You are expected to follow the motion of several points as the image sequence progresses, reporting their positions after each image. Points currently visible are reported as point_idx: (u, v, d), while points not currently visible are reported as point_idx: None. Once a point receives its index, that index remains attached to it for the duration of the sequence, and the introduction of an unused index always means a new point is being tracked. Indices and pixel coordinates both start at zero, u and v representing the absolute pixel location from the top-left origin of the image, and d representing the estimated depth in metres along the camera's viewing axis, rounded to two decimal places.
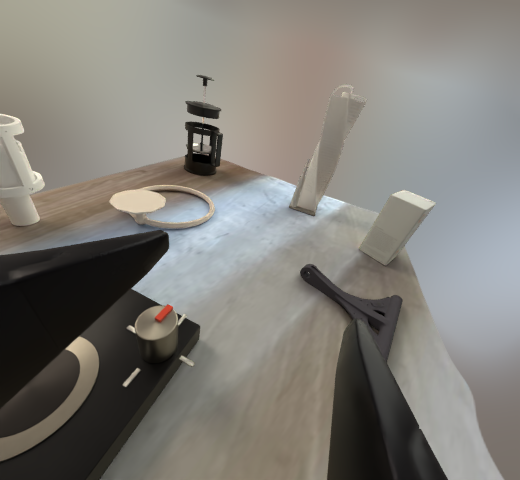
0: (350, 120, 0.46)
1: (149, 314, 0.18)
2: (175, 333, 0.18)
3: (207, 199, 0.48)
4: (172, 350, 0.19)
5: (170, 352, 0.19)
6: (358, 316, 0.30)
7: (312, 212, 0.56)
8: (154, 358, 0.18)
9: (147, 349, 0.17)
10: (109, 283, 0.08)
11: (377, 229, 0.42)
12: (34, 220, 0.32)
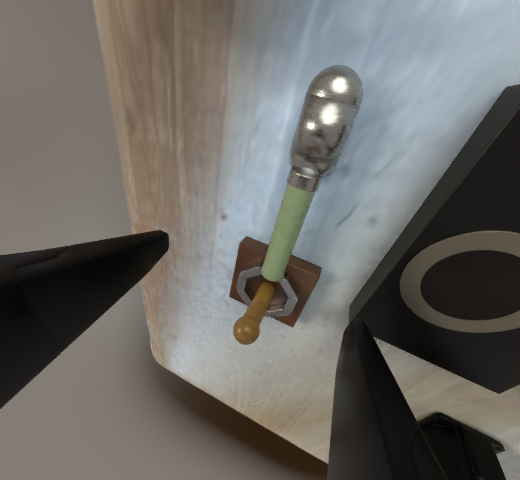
0: None
1: None
2: None
3: None
4: None
5: None
6: None
7: None
8: None
9: None
10: (109, 283, 0.08)
11: None
12: None
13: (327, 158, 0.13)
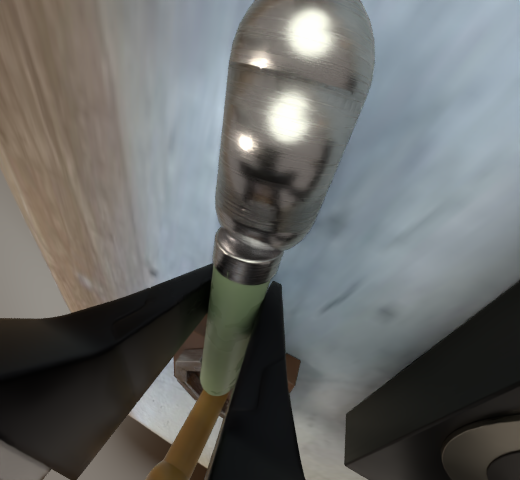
0: None
1: None
2: None
3: None
4: None
5: None
6: None
7: None
8: None
9: None
10: (184, 324, 0.07)
11: None
12: None
13: (287, 222, 0.05)
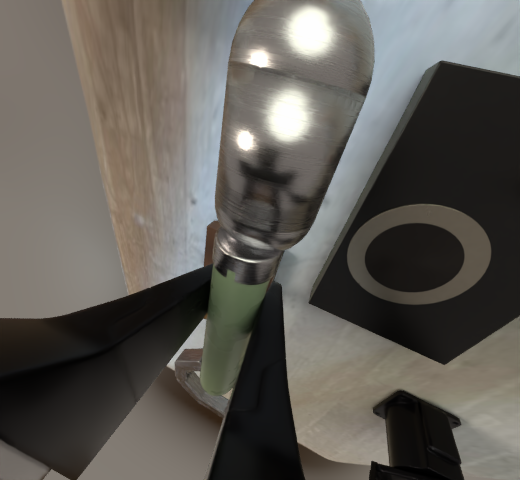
0: None
1: None
2: None
3: None
4: None
5: None
6: None
7: None
8: None
9: None
10: (184, 324, 0.07)
11: None
12: None
13: (287, 222, 0.05)
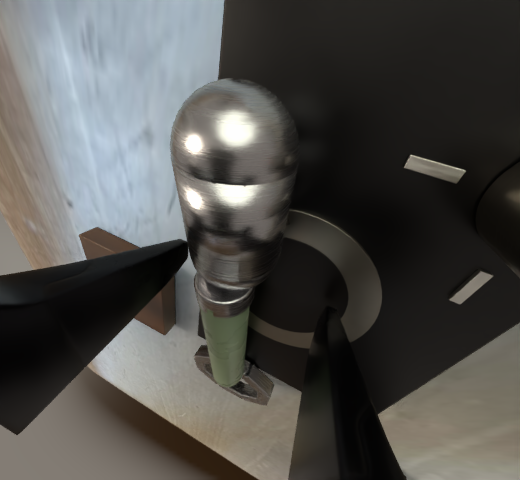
0: None
1: None
2: None
3: None
4: None
5: None
6: None
7: None
8: None
9: None
10: (132, 295, 0.08)
11: None
12: None
13: (245, 274, 0.06)
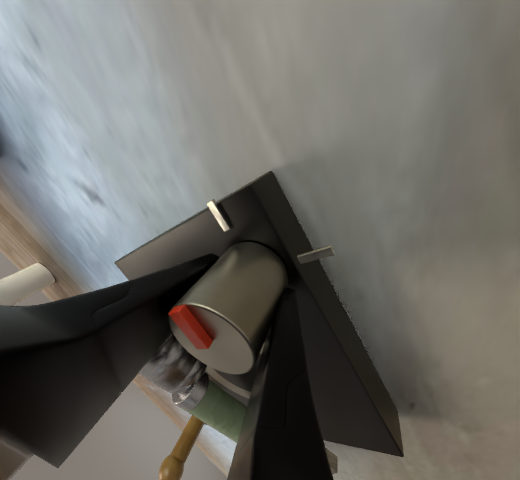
0: None
1: (186, 339, 0.07)
2: (253, 307, 0.07)
3: None
4: (279, 278, 0.08)
5: (282, 280, 0.08)
6: None
7: None
8: None
9: None
10: None
11: None
12: (42, 270, 0.26)
13: (174, 381, 0.12)
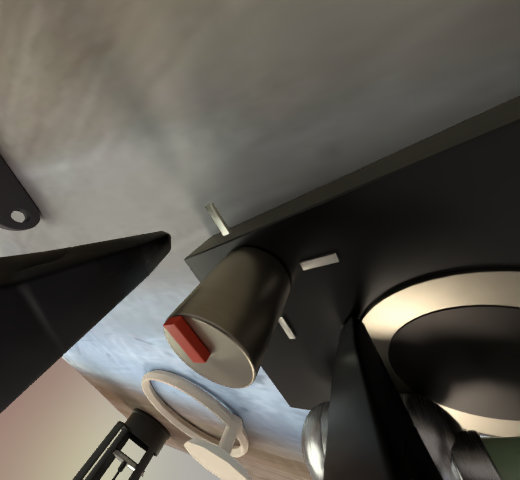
0: None
1: (183, 350, 0.07)
2: (254, 319, 0.06)
3: (148, 393, 0.31)
4: (281, 286, 0.08)
5: (284, 288, 0.08)
6: None
7: None
8: None
9: None
10: (111, 284, 0.08)
11: None
12: None
13: None
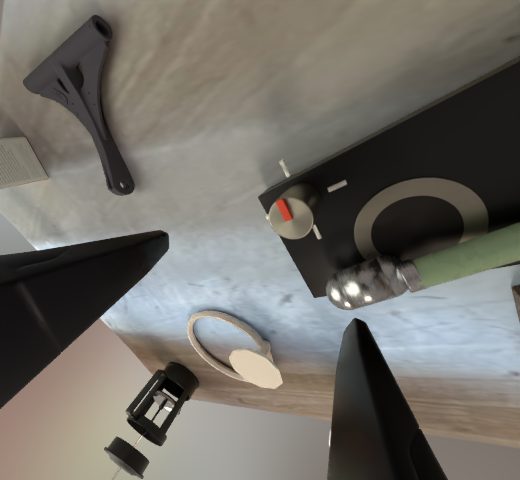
0: None
1: (277, 221, 0.15)
2: (311, 202, 0.15)
3: (191, 335, 0.40)
4: (318, 199, 0.16)
5: (319, 200, 0.16)
6: (90, 98, 0.23)
7: None
8: None
9: None
10: (109, 283, 0.08)
11: None
12: None
13: (380, 277, 0.15)
